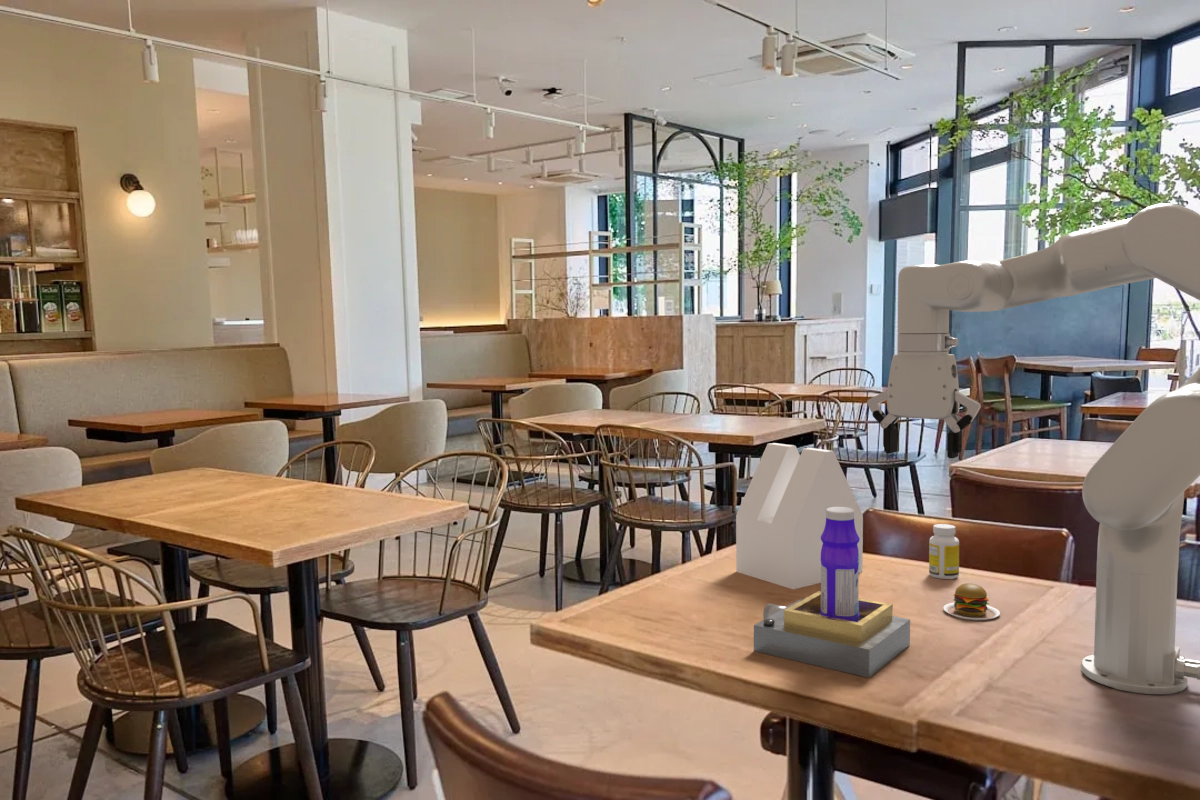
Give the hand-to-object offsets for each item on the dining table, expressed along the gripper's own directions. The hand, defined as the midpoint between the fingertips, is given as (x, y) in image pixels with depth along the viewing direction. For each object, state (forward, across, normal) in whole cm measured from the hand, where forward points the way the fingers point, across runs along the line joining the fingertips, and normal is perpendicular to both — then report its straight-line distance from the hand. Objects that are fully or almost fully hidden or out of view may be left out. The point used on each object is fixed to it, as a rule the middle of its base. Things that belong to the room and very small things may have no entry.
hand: (921, 454), depth 144 cm
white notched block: (+29, +31, -21) cm, 47 cm away
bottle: (+24, +7, +15) cm, 29 cm away
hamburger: (+29, -4, -14) cm, 33 cm away
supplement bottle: (+28, +7, -34) cm, 45 cm away
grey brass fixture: (+28, +10, +15) cm, 34 cm away
